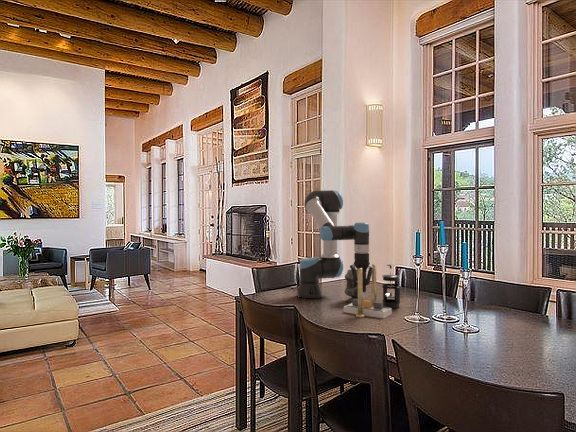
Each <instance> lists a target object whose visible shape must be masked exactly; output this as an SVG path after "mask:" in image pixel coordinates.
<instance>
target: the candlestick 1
mask: <svg viewBox="0 0 576 432" xmlns="http://www.w3.org/2000/svg"><path fill="white" fill-rule="evenodd" d="M363 300H364V298H363V280H362V268H358V314H355V317H356V318H359V319H360V318H361V319H363V318H365V317H366V316H365V314H363Z"/></svg>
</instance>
